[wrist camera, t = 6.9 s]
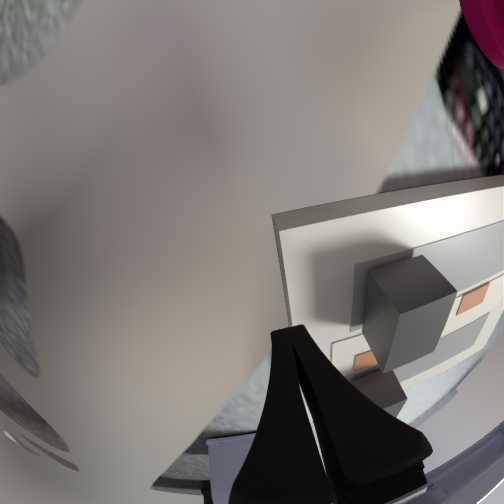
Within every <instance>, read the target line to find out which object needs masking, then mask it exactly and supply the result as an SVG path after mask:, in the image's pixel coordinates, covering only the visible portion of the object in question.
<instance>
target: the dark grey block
mask: <svg viewBox="0 0 504 504" xmlns="http://www.w3.org/2000/svg"><path fill="white" fill-rule="evenodd" d="M350 383H352V384H353V385H354V386H355V387H356V388H357V389H358V390H359V391H360V392H362V393H363V394H364V395H365V396H366V397H368V398H369V399H370V400H371V401H373V402H374V403H375V404H377V405H378V406H380V407H381V408H382V409H384V410H385V411H387V412H388V413H389V414H391V415H393V416H394V417H397V415H398V413H399V412H400V410H401V409H402V407H403V405H404V404H405V402H406V400H407V397H406V395H405V393H404V391H403V389H402V387H401V385H400V383H399V381H398V379H397V377H396V375H395V373H394V371H393V370H391V371H388V372H386V373H382V371H381V370H380V371H377V372H375V373H372V374H369V375H366V376H364V377H361V378H358V379H355V380H352V381H351V382H350Z"/></svg>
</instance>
